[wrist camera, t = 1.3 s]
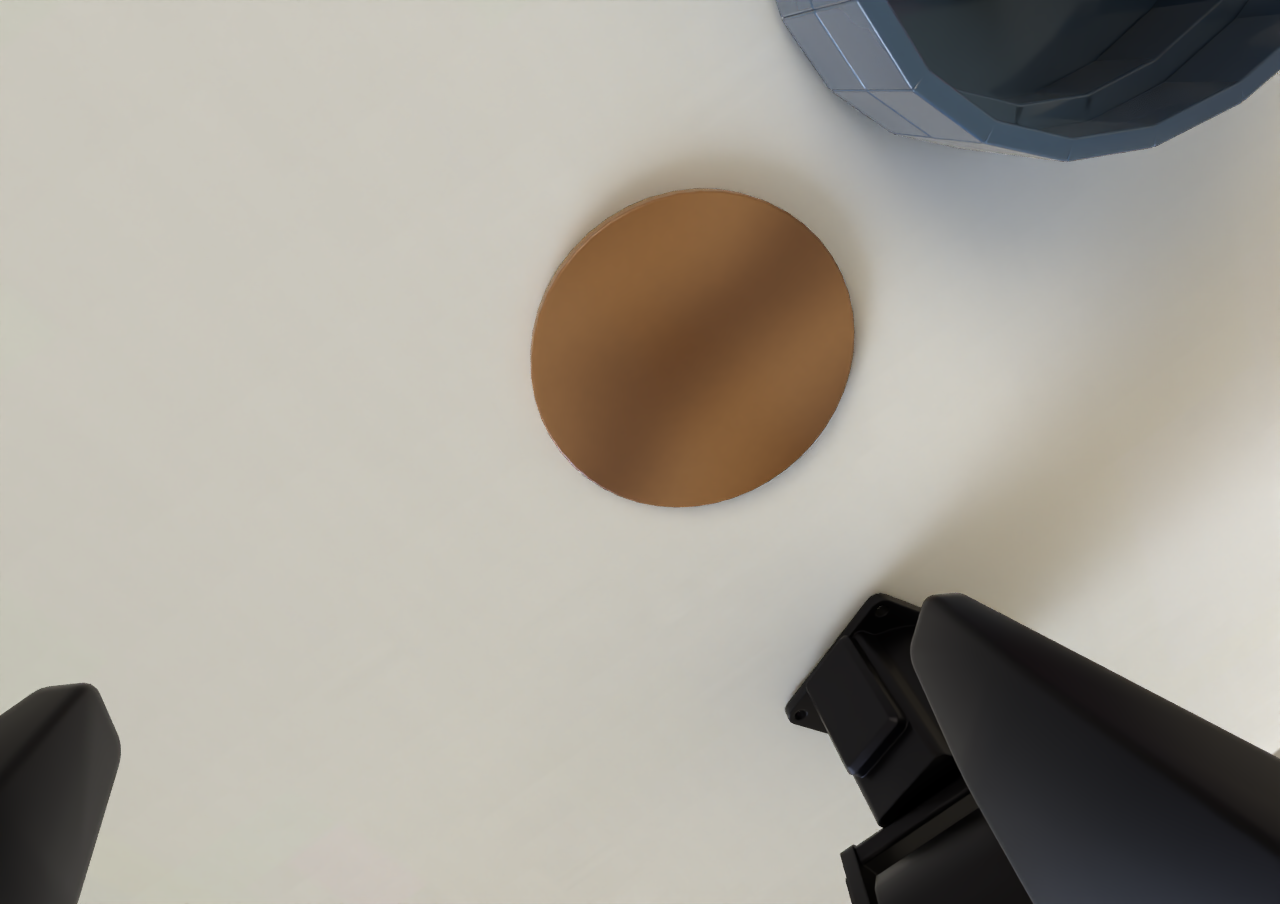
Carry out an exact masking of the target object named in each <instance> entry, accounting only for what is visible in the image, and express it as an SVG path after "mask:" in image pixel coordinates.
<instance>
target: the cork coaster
mask: <svg viewBox="0 0 1280 904" xmlns="http://www.w3.org/2000/svg"><path fill="white" fill-rule="evenodd" d="M853 351H854V320H853V310H852V306H851V301H850V297H849V292H848V289H847V287H846V284H845V281H844V279H843V276H842V273H841V271H840V270H839V268H838V266H837V264H836V262H835V260H834V259H833V257H832V255H831V254H830V252H829V251H828V250H827V248H826V247H825V246H824V244H823V243H822V242H821V241H820V239H819V238H818V237H817V236H816V235H815V234H814V233H813V232H812V231H811V230H810V229H809V228H808V227H807V226H806V225H804V224H803V223H802V222H800V221H799V220H798V219H796V218H795V217H793V216H792V215H791V214H789V213H788V212H786V211H784V210H782V209H780V208H778V207H776V206H774V205H772V204H770V203H768V202H766V201H764V200H761V199H758V198H755V197H752V196H749V195H746V194H743V193H739V192H734V191H728V190H722V189H699V188H695V189H687V190H678V191H672V192H668V193H664V194H660V195H656V196H652V197H649V198H647V199H644V200H642V201H639V202H637V203H635V204H632V205H630V206H628V207H626V208H624V209H622V210H621V211H619V212H617V213H616V214H614V215H612V216H610V217H609V218H607V219H606V220H605V221H603V222H602V223H601V224H599V225H598V226H597V227H596V228H594V229H593V230H592V231H590V232H589V233H588V234H587V235H586V236H585V237H584V238H583V239H582V240H581V241H580V242H579V243H578V244H577V245H576V246H575V247H574V248H573V249H572V250H571V252H570V253H569V254H568V256H567V257H566V258H565V260H564V261H563V262H562V264H561V265H560V266H559V268H558V269H557V271H556V273H555V274H554V276H553V278H552V280H551V281H550V283H549V285H548V287H547V288H546V291H545V293H544V296H543V298H542V301H541V303H540V306H539V308H538V312H537V316H536V320H535V324H534V328H533V333H532V342H531V351H530V355H531V378H532V384H533V390H534V396H535V400H536V404H537V407H538V410H539V413H540V416H541V419H542V421H543V423H544V425H545V427H546V429H547V431H548V433H549V435H550V437H551V439H552V440H553V442H554V443H555V444H556V446H557V447H558V449H559V450H560V452H561V453H562V454H563V455H564V456H565V458H566V459H567V460H568V461H569V462H570V463H571V464H572V465H573V466H574V467H575V468H576V469H577V470H578V471H580V472H581V473H582V474H583V475H584V476H585V477H587V478H588V479H589V480H591V481H592V482H594V483H596V484H597V485H599V486H600V487H602V488H603V489H605V490H608V491H610V492H612V493H614V494H616V495H618V496H621V497H623V498H626V499H629V500H633V501H636V502H639V503H644V504H649V505H655V506H664V507H692V506H701V505H707V504H713V503H717V502H721V501H724V500H728V499H731V498H734V497H737V496H739V495H742V494H744V493H747V492H749V491H751V490H753V489H755V488H757V487H759V486H761V485H763V484H764V483H766V482H768V481H770V480H771V479H773V478H774V477H776V476H777V475H779V474H780V473H781V472H783V471H784V470H786V469H787V468H788V467H789V466H790V465H791V464H793V463H794V462H795V461H796V460H797V459H798V458H800V457H801V456H802V455H803V453H804V452H805V451H806V450H807V449H808V448H809V447H810V446H811V445H812V444H813V443H814V442H815V440H816V439H817V438H818V436H819V435H820V434H821V432H822V431H823V430H824V428H825V427H826V425H827V424H828V422H829V420H830V419H831V417H832V415H833V413H834V412H835V410H836V408H837V406H838V403H839V401H840V399H841V397H842V395H843V392H844V389H845V386H846V383H847V380H848V377H849V373H850V369H851V363H852V358H853Z"/></svg>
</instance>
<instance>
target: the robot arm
mask: <svg viewBox="0 0 1280 904" xmlns="http://www.w3.org/2000/svg"><path fill="white" fill-rule="evenodd" d="M879 606H882V607H880V608H879V609H877V608H878V607H879ZM785 712H786V714H787V716H788V719H789V720H790V722H791V723H793V724H796V725H800V726H803V727H807V728H810V729H814V730H817V731H820V732H824V733H827V734H829V736H830V738H831V740H832V742H833V744H834V746H835V748H836V750H837V752H838V754H839V756H840V758H841V760H842V762H843V764H844V766H845V768H846V770H847V771H848V773H849V774H851V775H853V776H854V778H855V780H856V782H857V784H858V786H859V788H860V790H861V792H862V794H863V796H864V798H865V800H866V801H867V803H868V805H869V807H870V809H871V811H872V813H873V815H874V817H875V819H876V821H877V823H878V825H879V826H881V827H883V828H882V829H881V830H879V831H878V832H876V833H875V834H873V835H872V836H871V837H869V838H868V839H866V840H865V841H863V842H862V843H860V844H859V845H857V846H855V845H852V846H850V847H849V848H847V849H846V850H845V851H843V852H842V853H841V854H840V855H841V859H842V863H843V867H844V870H845V874H846V877H847V878H846V884H847V887H848V891H849V895H850V898H851V902H852V904H1280V759H1279V758H1278V757H1276V756H1274V755H1272V754H1270V753H1268V752H1266V751H1264V750H1262V749H1260V748H1258V747H1256V746H1254V745H1253V744H1251V743H1249V742H1247V741H1245V740H1243V739H1241V738H1239V737H1237V736H1235V735H1233V734H1231V733H1229V732H1228V731H1226V730H1224V729H1222V728H1220V727H1218V726H1216V725H1214V724H1212V723H1210V722H1208V721H1206V720H1205V719H1203V718H1201V717H1199V716H1197V715H1195V714H1193V713H1191V712H1189V711H1187V710H1185V709H1183V708H1181V707H1180V706H1178V705H1176V704H1174V703H1172V702H1170V701H1168V700H1166V699H1164V698H1162V697H1160V696H1158V695H1156V694H1155V693H1153V692H1151V691H1149V690H1147V689H1145V688H1143V687H1141V686H1139V685H1137V684H1135V683H1133V682H1132V681H1130V680H1128V679H1126V678H1124V677H1122V676H1120V675H1118V674H1116V673H1114V672H1112V671H1110V670H1108V669H1107V668H1105V667H1103V666H1101V665H1099V664H1097V663H1095V662H1093V661H1091V660H1089V659H1087V658H1085V657H1083V656H1082V655H1080V654H1078V653H1076V652H1074V651H1072V650H1070V649H1068V648H1066V647H1064V646H1062V645H1060V644H1059V643H1057V642H1055V641H1053V640H1051V639H1049V638H1047V637H1045V636H1043V635H1041V634H1039V633H1037V632H1035V631H1034V630H1032V629H1030V628H1028V627H1026V626H1024V625H1022V624H1020V623H1018V622H1016V621H1014V620H1012V619H1010V618H1009V617H1007V616H1005V615H1003V614H1001V613H999V612H997V611H995V610H993V609H991V608H989V607H987V606H986V605H984V604H982V603H980V602H978V601H976V600H974V599H972V598H970V597H968V596H966V595H964V594H961V593H948V594H938V595H932V596H929V597H928V598H927V599H926V600H925V601H924V602H923V605H922V608H920V607H917V606H915V605H912V604H910V603H907V602H905V601H902V600H899V599H897V598H894V597H892V596H889V595H887V594H883V593H878V594H875V595H873V596H871V597H870V598H869V599H868V600H867V601H866V602H865V603H864V605H863V606H862V607H861V609H860V610H859V611H858V613H857V614H856V615H855V616H854V618H853V619H852V620H851V622H850V623H849V624H848V626H847V627H846V628H845V629H844V631H843V632H842V633H841V635H840V636H839V637H838V639H837V640H836V641H835V643H834V644H833V645H832V646H831V648H830V649H829V650H828V652H827V653H826V654H825V656H824V657H823V658H822V659H821V661H820V662H819V663H818V665H817V666H816V667H815V669H814V670H813V671H812V673H811V674H810V675H809V676H808V678H807V679H806V680H805V682H804V683H803V684H802V686H801V687H800V688H799V689H798V691H797V692H796V693H795V695H794V696H793V697H792V699H791V700H790V701H789V703H788V704H787V706H786V708H785ZM120 756H121V745H120V740H119V736H118V734H117V732H116V730H115V727H114V725H113V723H112V720H111V718H110V716H109V714H108V711H107V709H106V707H105V704H104V702H103V700H102V697H101V695H100V693H99V692H98V690H97V688H95V687H94V686H93V685H91V684H87V683H77V684H67V685H58V686H49V687H45V688H41V689H39V690H37V691H35V692H34V693H32V694H30V695H29V696H28V697H26V698H25V699H23V700H22V701H20V702H19V703H18V704H16V705H15V706H13V707H12V708H10V709H9V710H7V711H6V712H5V713H3V714H2V715H0V904H77V903H78V900H79V897H80V893H81V890H82V887H83V883H84V880H85V877H86V873H87V870H88V867H89V863H90V860H91V857H92V853H93V850H94V847H95V843H96V840H97V837H98V833H99V830H100V827H101V823H102V820H103V817H104V813H105V810H106V807H107V803H108V800H109V797H110V793H111V790H112V787H113V783H114V780H115V777H116V773H117V770H118V767H119V762H120Z"/></svg>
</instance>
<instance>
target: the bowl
mask: <svg viewBox="0 0 1280 904" xmlns="http://www.w3.org/2000/svg"><path fill="white" fill-rule="evenodd" d="M776 2H777V6H778V9H779V12H780V15H781V17H783V19H782V20H783V22H784V24H785V25H786V27H787V28H788V30H789V31H790V33H791V34H792V36H793V37H794V38H795V40H796V41H797V43H798V44H799V46H800V47H801V49H802V50H803V51H804V53H805V54H806V56H807V57H808V59H809V60H810V62H811V63H812V65H813V66H814V67H815V69H816V70H817V72H818V73H819V75H820V76H821V78H822V79H823V81H824V82H825V83H826V85H827V86H828V88H829V89H830V90H832V91H833V93H835V94H836V95H837V96H839V97H840V98H842V99H843V100H845V101H846V102H848V103H849V104H850V105H852V106H853V107H855V108H856V109H858V110H859V111H860V112H862V113H863V114H865V115H866V116H868V117H869V118H870V119H872V120H873V121H875V122H876V123H878V124H879V125H881V126H882V127H883V128H885V129H886V130H888V131H889V132H892V133H893V134H895V135H900V136H904V137H909V138H913V139H918V140H923V141H927V142H932V143H936V144H941V145H945V146H950V147H955V148H959V149H967V150H975V151H983V152H991V153H998V154H1007V155H1014V156H1022V157H1030V158H1038V159H1046V160H1054V161H1062V162H1064V161H1066V162H1069V161H1076V160H1082V159H1088V158H1094V157H1100V156H1106V155H1112V154H1118V153H1124V152H1130V151H1136V150H1142V149H1148V148H1152V147H1156V146H1158V145H1160V144H1162V143H1164V142H1166V141H1168V140H1170V139H1171V138H1173V137H1175V136H1177V135H1179V134H1181V133H1183V132H1185V131H1187V130H1189V129H1191V128H1193V127H1195V126H1197V125H1199V124H1201V123H1203V122H1205V121H1207V120H1209V119H1211V118H1213V117H1215V116H1217V115H1219V114H1221V113H1223V112H1224V111H1226V110H1228V109H1230V108H1232V107H1234V106H1236V105H1238V104H1240V103H1242V101H1244V100H1246V99H1247V98H1248V97H1249V96H1250V95H1252V94H1253V93H1254V92H1255V91H1256V90H1257V89H1258V88H1260V87H1261V86H1262V85H1263V84H1264V83H1265V82H1267V81H1268V80H1269V79H1270V78H1271V77H1272V76H1274V75H1275V74H1276V73H1277V72H1278V71H1279V70H1280V0H776Z"/></svg>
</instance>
